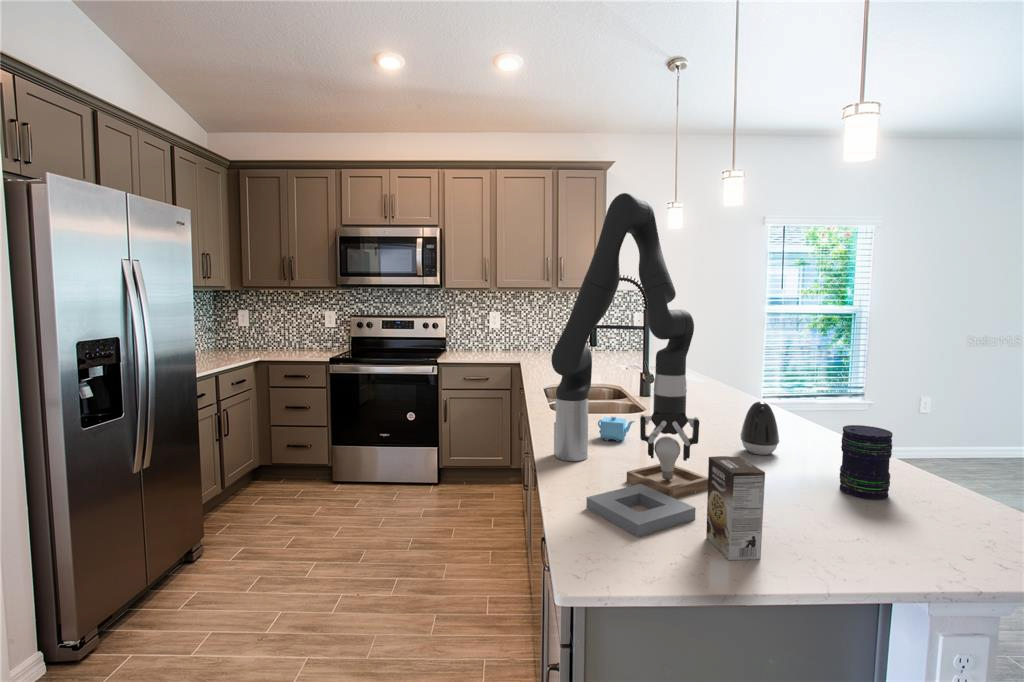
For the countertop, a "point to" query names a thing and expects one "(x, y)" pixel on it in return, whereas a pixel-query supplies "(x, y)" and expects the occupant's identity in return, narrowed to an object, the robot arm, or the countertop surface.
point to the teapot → (613, 428)
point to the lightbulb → (667, 455)
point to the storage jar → (865, 462)
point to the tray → (675, 487)
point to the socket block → (640, 523)
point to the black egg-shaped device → (760, 430)
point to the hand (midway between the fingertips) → (668, 458)
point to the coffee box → (735, 507)
